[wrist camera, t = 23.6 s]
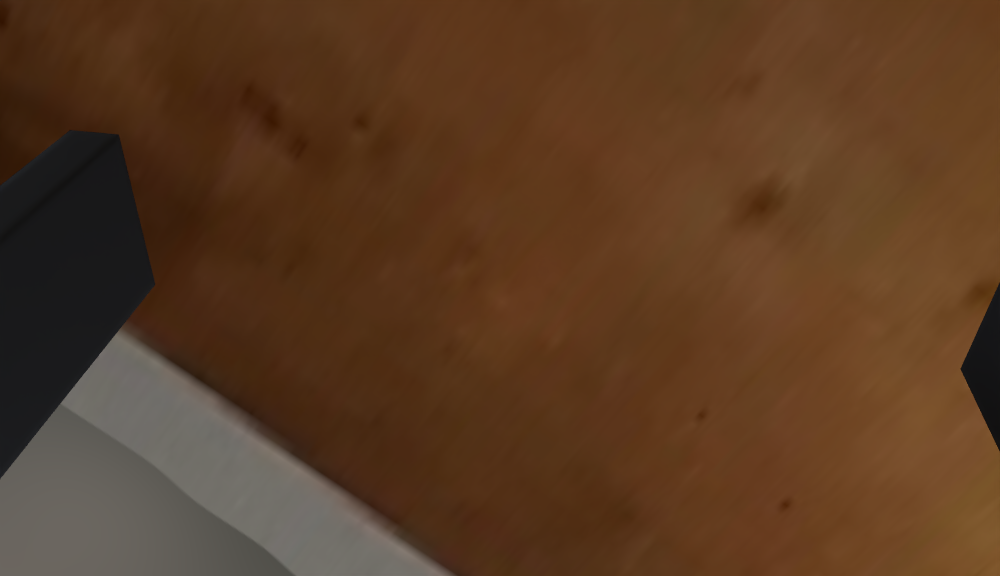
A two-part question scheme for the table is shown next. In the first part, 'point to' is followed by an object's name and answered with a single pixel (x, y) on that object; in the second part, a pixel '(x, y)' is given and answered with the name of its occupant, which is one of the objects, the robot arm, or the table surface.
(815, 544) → the table surface
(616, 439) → the table surface
